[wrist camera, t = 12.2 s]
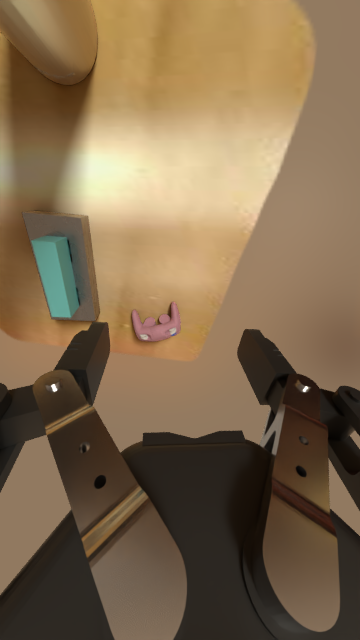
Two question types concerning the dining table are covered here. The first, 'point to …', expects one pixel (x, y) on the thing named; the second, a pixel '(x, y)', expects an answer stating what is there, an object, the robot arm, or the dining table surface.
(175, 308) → the video game controller
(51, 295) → the two prong clip
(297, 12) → the dining table surface
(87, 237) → the slotted rail
